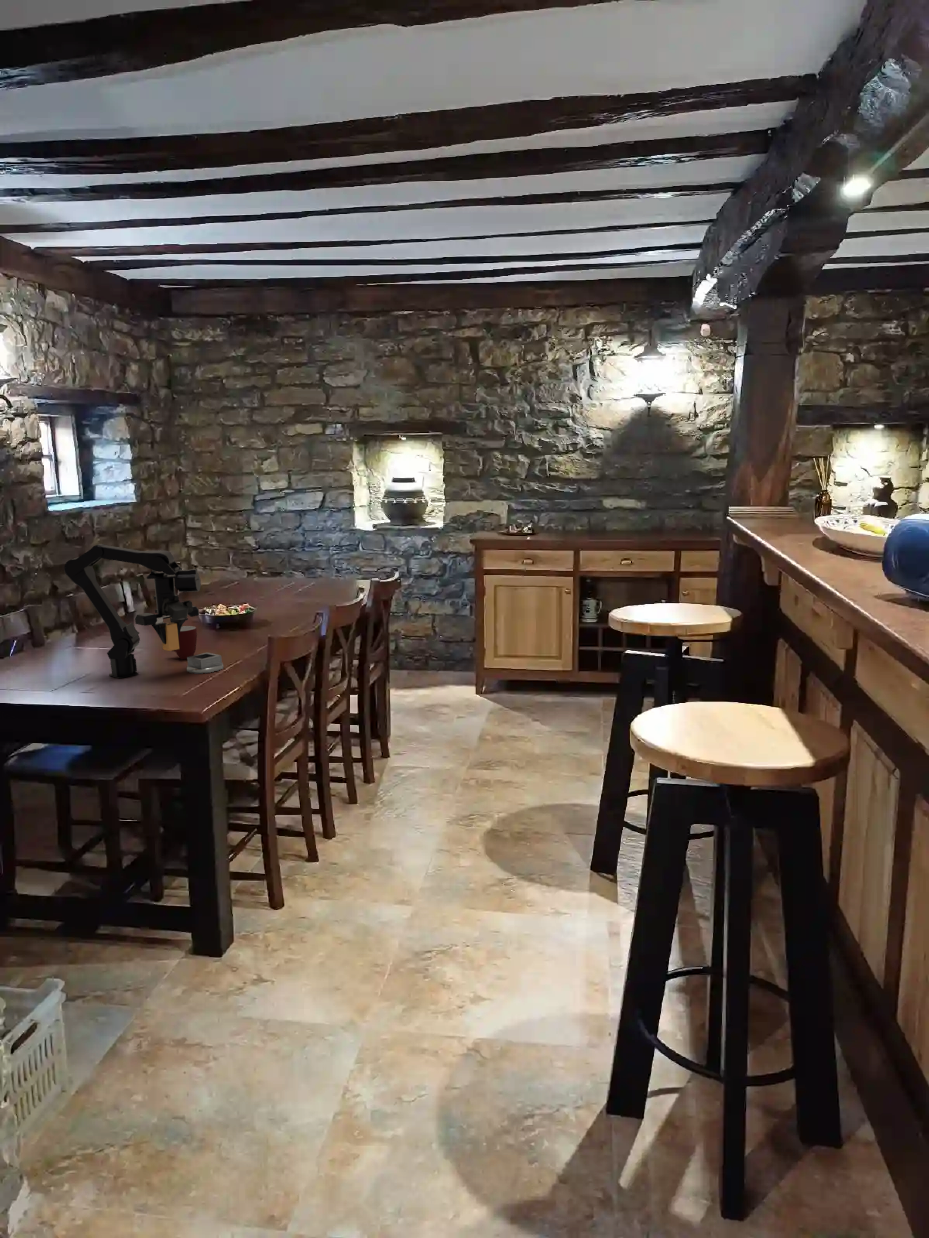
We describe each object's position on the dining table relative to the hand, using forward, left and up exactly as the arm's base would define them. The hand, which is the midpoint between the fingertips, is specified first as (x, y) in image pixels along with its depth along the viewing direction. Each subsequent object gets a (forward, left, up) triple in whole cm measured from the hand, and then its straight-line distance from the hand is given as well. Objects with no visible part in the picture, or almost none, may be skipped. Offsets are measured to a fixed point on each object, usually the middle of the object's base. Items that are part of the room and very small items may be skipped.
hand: (170, 642), depth 272 cm
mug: (+13, +15, -10) cm, 22 cm away
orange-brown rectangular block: (0, 0, -2) cm, 2 cm away
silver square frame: (+9, -4, -10) cm, 14 cm away
